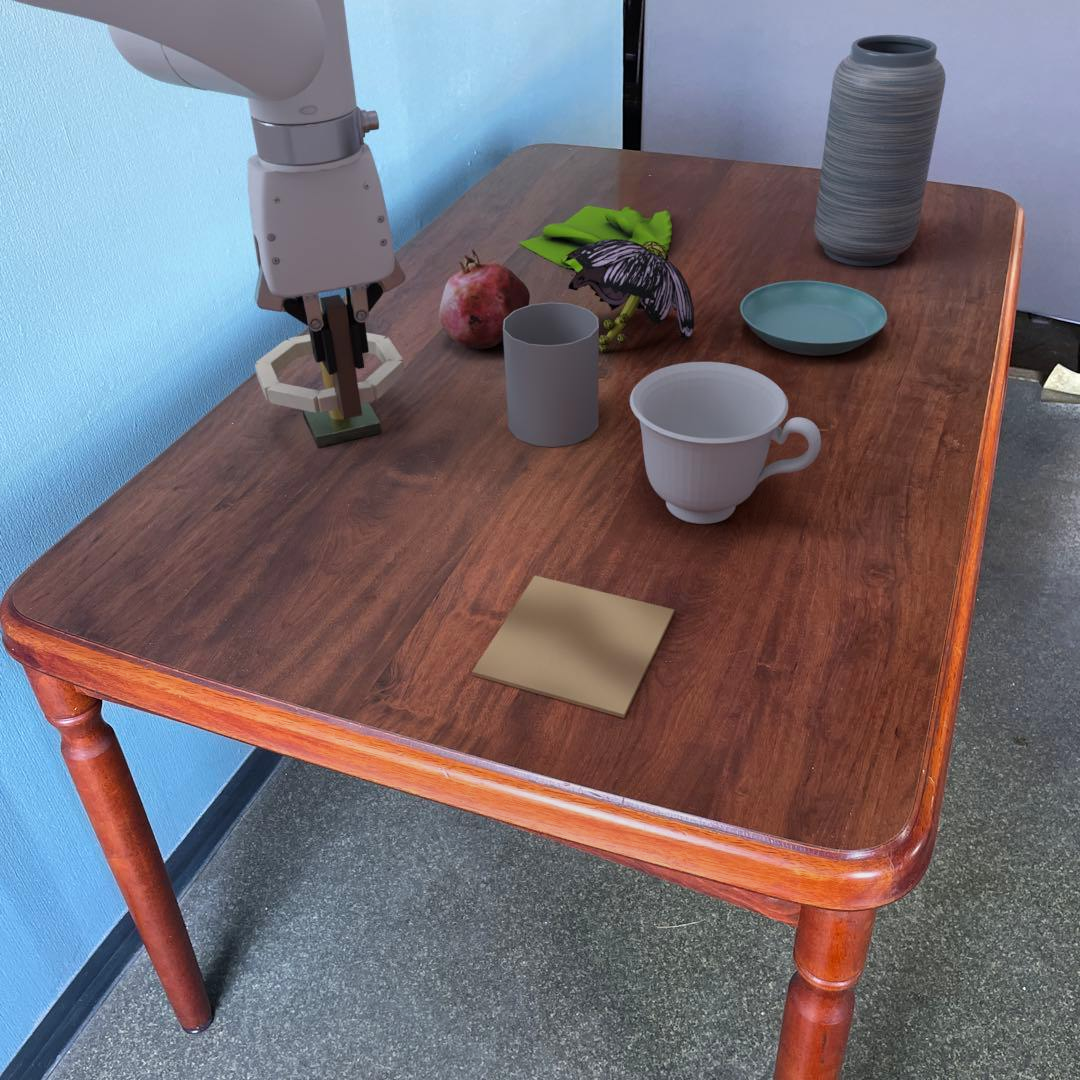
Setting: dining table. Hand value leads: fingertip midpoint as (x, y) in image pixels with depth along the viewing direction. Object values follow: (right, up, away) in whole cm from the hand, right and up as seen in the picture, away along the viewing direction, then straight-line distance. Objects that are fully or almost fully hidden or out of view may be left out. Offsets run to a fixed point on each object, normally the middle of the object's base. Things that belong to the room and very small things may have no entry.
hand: (342, 363), depth 89 cm
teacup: (+31, -12, -1) cm, 33 cm away
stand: (-2, -4, +11) cm, 12 cm away
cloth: (+25, +22, +44) cm, 56 cm away
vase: (+54, +19, +39) cm, 70 cm away
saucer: (+44, +7, +23) cm, 50 cm away
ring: (-2, 0, +8) cm, 8 cm away
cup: (+18, -4, +11) cm, 21 cm away
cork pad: (+19, -22, -13) cm, 32 cm away
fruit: (+11, +6, +24) cm, 27 cm away
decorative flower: (+26, +6, +23) cm, 36 cm away
